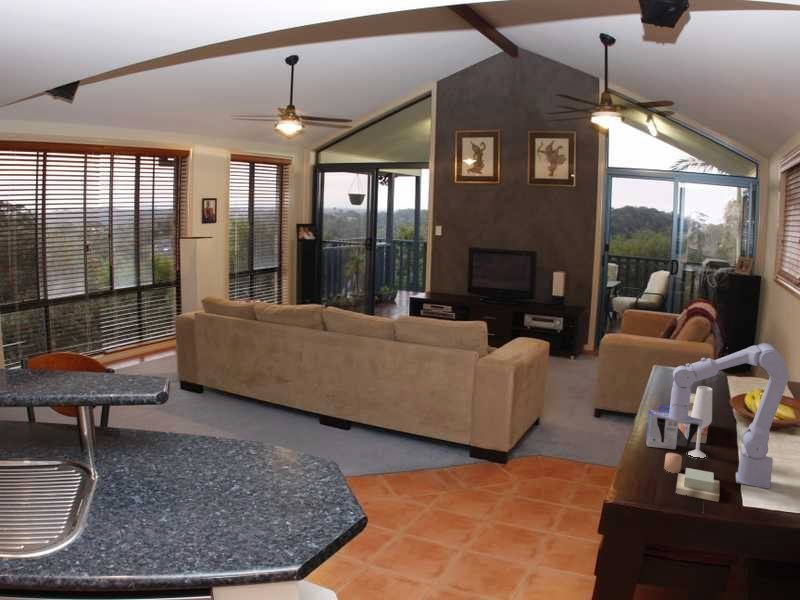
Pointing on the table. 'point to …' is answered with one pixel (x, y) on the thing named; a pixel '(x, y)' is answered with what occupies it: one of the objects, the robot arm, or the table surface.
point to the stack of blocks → (685, 427)
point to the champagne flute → (702, 414)
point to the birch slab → (697, 490)
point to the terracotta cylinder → (673, 462)
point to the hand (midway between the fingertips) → (675, 443)
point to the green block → (699, 479)
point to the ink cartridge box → (654, 431)
